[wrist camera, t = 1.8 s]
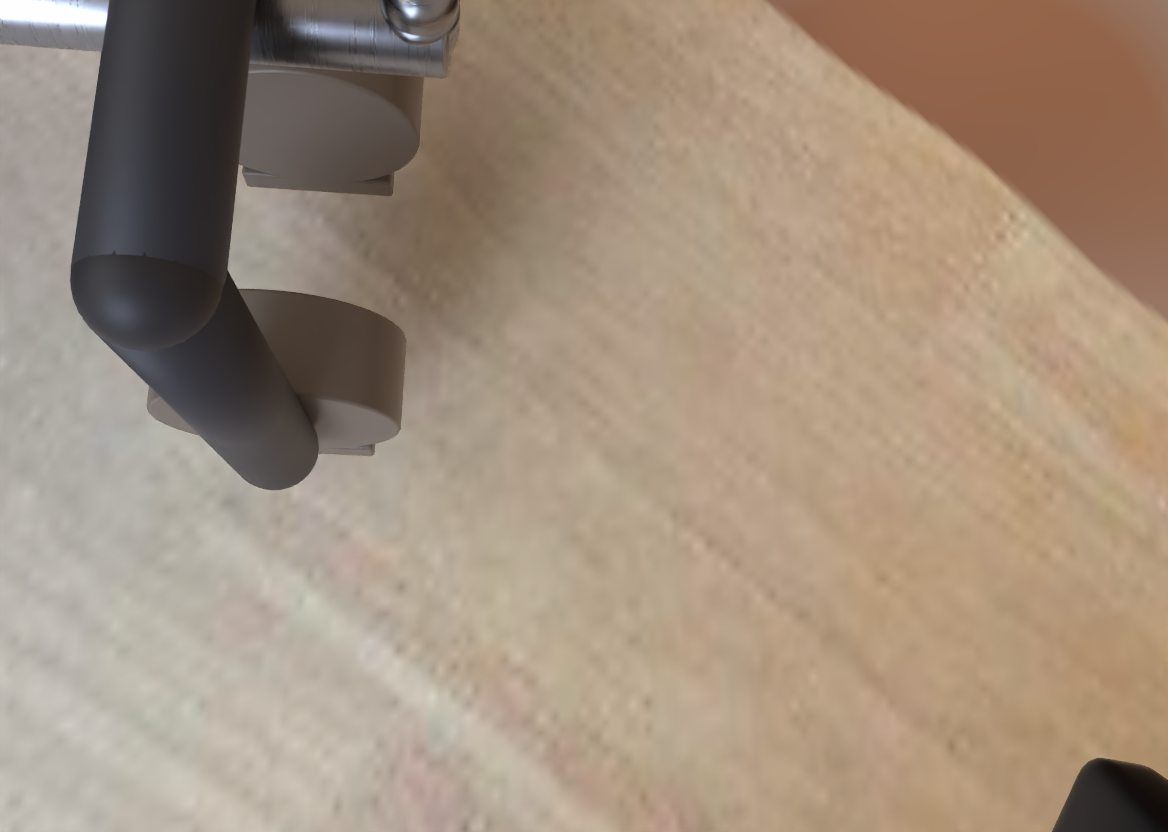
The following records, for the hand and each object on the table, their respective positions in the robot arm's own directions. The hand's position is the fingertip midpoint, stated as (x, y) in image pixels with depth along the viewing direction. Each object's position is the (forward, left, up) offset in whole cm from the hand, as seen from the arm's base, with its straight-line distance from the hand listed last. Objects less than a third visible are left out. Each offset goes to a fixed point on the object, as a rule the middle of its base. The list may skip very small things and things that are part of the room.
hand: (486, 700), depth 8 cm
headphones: (-1, +8, -12) cm, 15 cm away
